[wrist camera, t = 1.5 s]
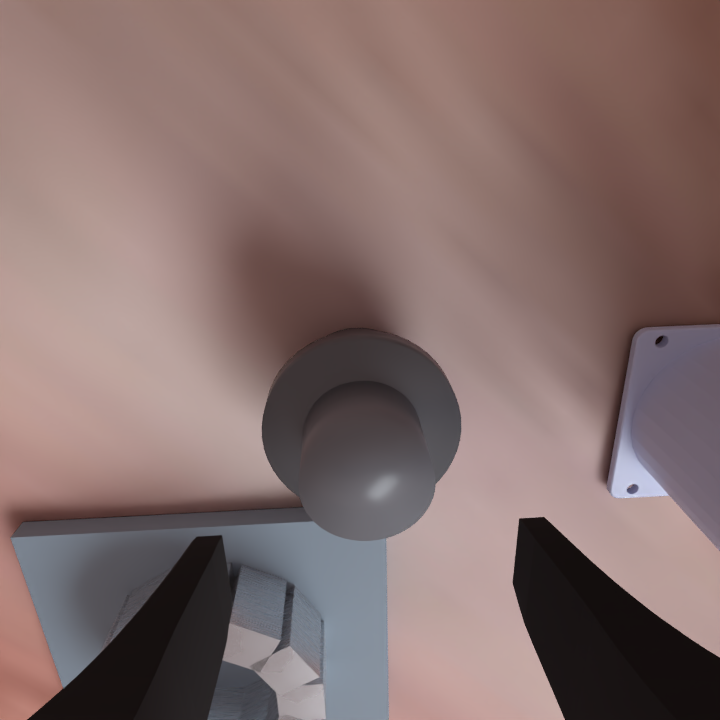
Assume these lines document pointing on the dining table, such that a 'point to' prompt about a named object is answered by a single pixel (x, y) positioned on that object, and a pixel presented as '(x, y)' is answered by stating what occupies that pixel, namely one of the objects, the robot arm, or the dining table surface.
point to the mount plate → (242, 546)
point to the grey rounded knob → (361, 431)
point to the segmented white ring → (261, 648)
